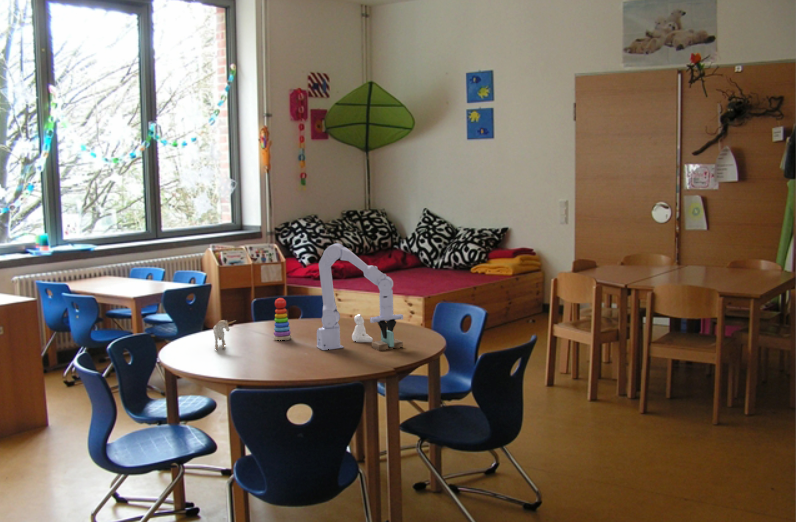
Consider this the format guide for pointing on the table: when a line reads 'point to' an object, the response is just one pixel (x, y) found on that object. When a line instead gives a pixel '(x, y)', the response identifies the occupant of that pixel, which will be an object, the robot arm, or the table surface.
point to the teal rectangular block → (388, 338)
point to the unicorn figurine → (220, 332)
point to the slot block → (386, 345)
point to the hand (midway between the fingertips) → (387, 337)
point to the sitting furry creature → (360, 331)
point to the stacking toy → (281, 321)
